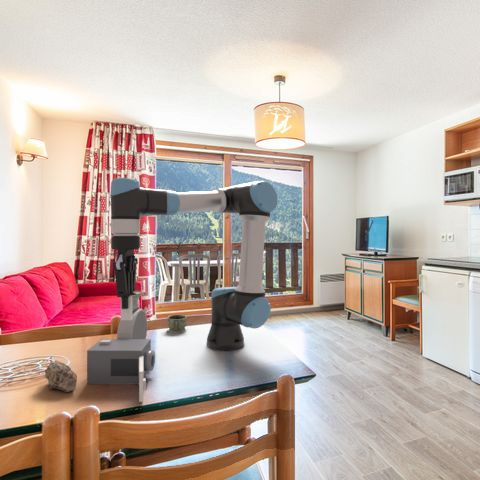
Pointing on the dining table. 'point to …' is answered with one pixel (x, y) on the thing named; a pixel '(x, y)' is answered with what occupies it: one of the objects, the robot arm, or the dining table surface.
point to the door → (141, 378)
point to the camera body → (118, 361)
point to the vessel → (177, 323)
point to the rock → (60, 377)
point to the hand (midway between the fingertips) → (126, 319)
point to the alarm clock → (133, 325)
